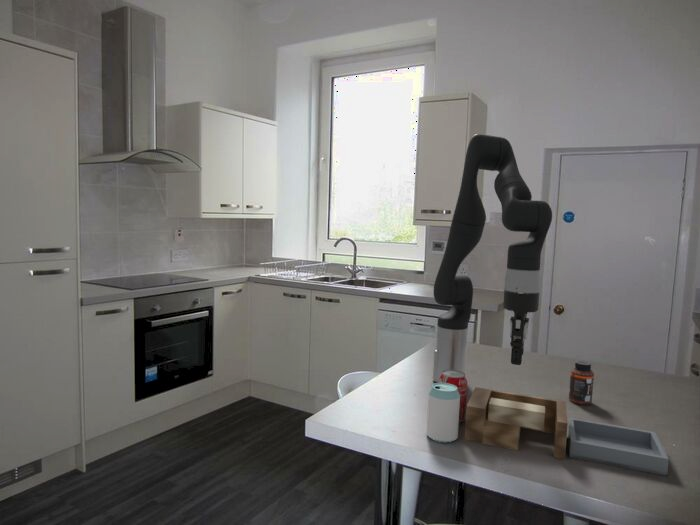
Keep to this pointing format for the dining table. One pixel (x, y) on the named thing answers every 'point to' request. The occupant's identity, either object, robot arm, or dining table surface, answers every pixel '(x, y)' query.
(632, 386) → the dining table surface
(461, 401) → the soda can
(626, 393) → the dining table surface
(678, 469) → the dining table surface
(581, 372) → the supplement bottle
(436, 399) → the can
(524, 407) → the slab
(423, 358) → the dining table surface
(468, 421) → the open wooden box frame
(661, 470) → the tray
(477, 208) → the robot arm
